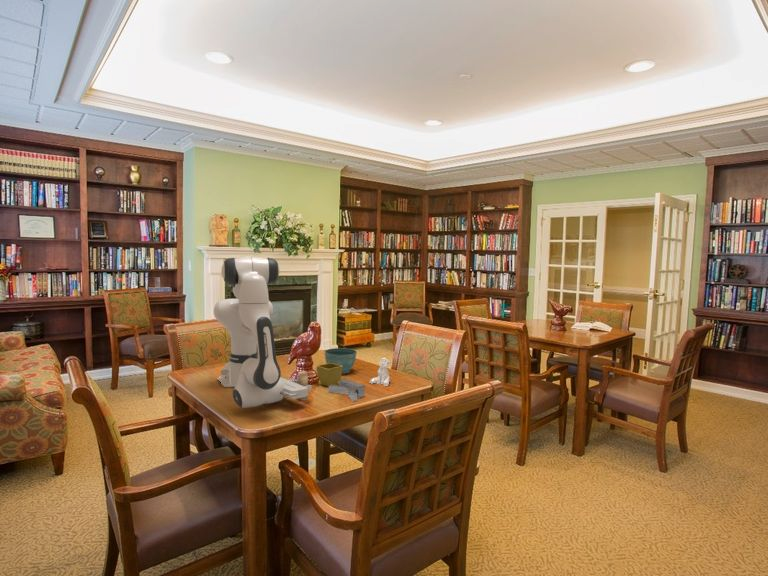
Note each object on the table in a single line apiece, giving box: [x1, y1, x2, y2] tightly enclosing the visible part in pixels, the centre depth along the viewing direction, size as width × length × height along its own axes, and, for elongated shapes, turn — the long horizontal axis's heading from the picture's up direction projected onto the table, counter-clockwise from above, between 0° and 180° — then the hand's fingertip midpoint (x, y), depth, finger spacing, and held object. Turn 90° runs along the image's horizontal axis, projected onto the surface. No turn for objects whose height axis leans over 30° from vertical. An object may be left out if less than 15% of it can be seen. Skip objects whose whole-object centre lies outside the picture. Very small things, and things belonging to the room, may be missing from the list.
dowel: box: [297, 371, 309, 402], centre depth 192 cm, size 4×4×11 cm
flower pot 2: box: [316, 363, 343, 388], centre depth 214 cm, size 9×9×9 cm
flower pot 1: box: [324, 347, 358, 375], centre depth 237 cm, size 16×16×11 cm
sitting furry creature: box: [369, 357, 392, 387], centre depth 219 cm, size 10×9×12 cm
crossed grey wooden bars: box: [328, 378, 366, 402], centre depth 200 cm, size 18×8×5 cm, turn 43°
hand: (304, 384), depth 193 cm, fingers open, 8 cm apart
